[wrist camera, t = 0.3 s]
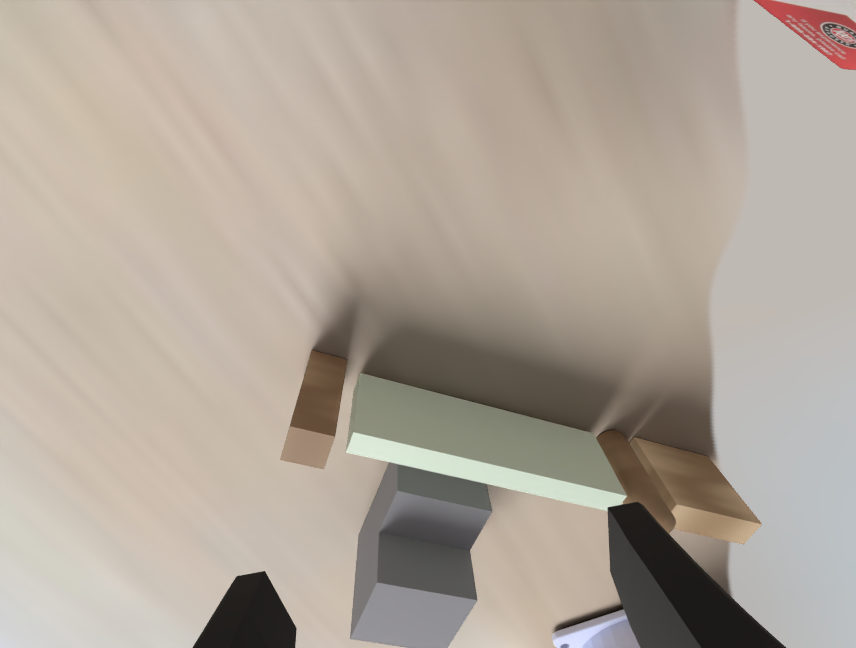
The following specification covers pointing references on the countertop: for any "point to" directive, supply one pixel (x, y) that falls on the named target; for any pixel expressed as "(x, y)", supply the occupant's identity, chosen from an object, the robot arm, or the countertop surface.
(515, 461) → the pale green bar
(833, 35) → the ink box
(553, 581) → the countertop surface
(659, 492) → the tan small pieces
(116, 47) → the countertop surface
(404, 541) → the grey faceted block
